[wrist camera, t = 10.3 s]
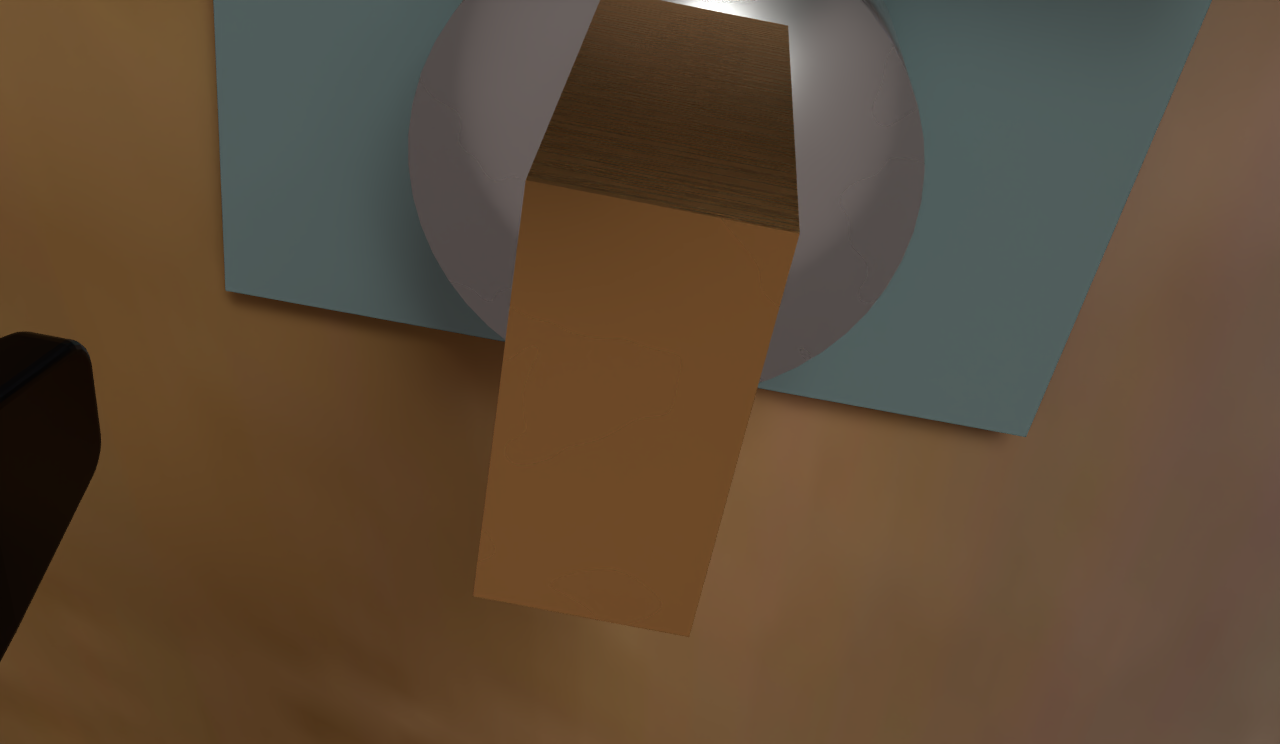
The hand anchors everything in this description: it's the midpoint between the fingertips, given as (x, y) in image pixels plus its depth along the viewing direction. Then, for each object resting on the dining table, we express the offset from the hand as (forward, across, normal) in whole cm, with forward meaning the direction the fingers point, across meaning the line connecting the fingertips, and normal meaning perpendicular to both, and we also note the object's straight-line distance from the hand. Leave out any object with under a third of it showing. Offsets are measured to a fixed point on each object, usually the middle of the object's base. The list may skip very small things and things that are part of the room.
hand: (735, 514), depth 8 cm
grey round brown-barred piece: (+12, +1, +2) cm, 12 cm away
